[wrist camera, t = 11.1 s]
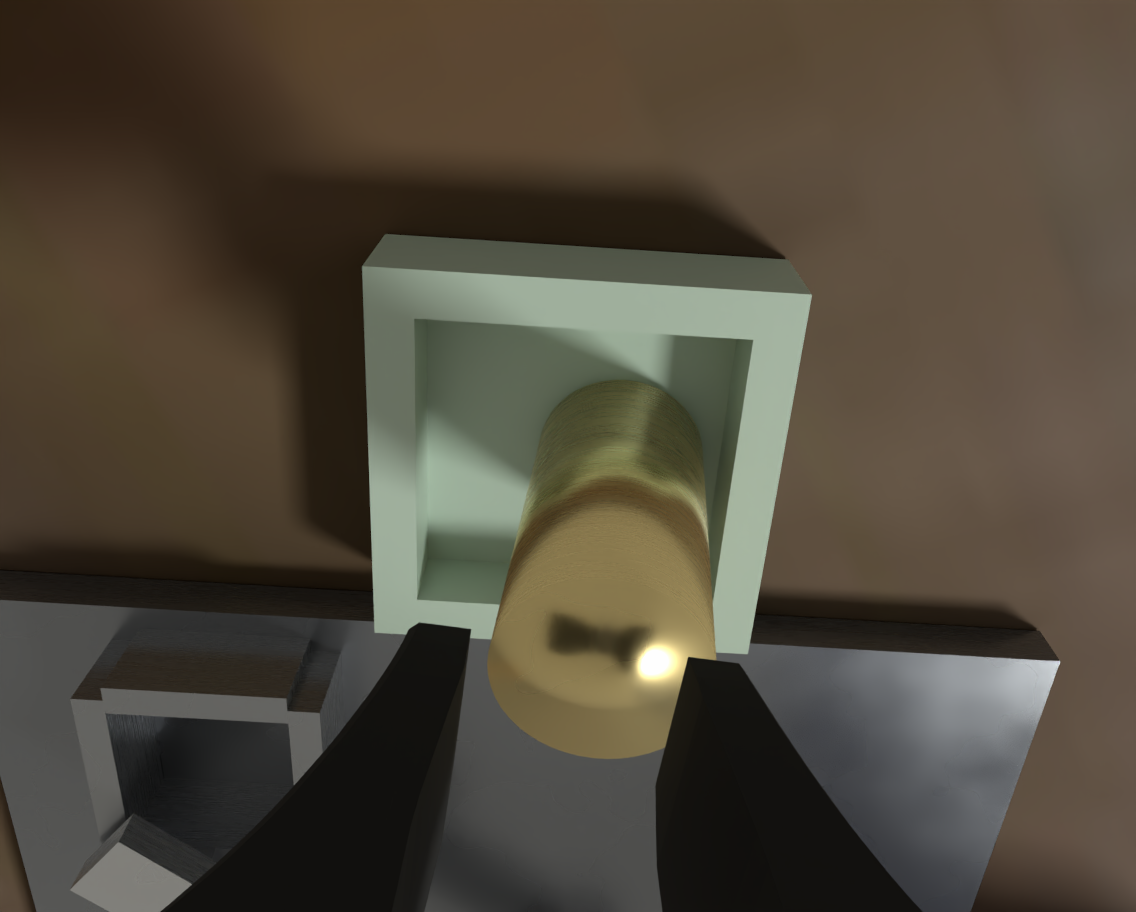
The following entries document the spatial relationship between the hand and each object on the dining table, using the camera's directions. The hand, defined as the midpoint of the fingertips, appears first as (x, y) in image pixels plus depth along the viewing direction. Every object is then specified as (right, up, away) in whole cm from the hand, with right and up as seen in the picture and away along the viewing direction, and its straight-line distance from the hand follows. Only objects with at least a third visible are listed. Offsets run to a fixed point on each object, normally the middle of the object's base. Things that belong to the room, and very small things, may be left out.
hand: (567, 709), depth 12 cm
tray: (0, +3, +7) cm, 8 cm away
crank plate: (-2, -8, +13) cm, 15 cm away
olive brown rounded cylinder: (+1, +3, +6) cm, 7 cm away
